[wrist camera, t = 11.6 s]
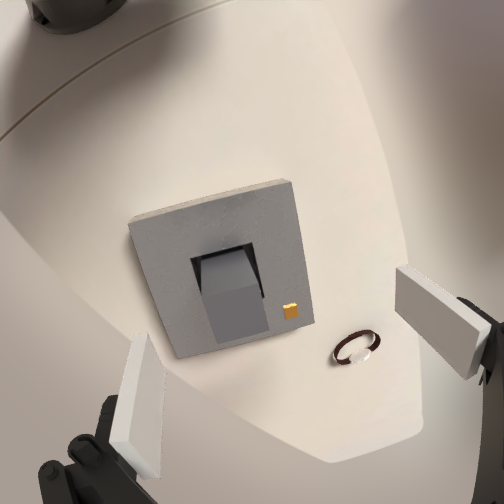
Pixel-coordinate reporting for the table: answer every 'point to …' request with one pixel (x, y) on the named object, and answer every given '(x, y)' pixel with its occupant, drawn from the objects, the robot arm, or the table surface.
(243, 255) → the plug
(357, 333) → the watch
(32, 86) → the table surface
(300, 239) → the socket
